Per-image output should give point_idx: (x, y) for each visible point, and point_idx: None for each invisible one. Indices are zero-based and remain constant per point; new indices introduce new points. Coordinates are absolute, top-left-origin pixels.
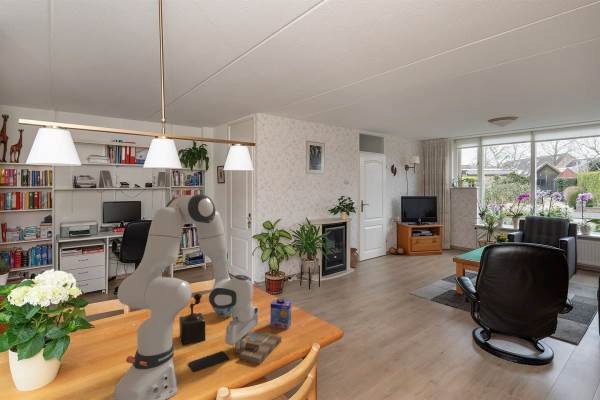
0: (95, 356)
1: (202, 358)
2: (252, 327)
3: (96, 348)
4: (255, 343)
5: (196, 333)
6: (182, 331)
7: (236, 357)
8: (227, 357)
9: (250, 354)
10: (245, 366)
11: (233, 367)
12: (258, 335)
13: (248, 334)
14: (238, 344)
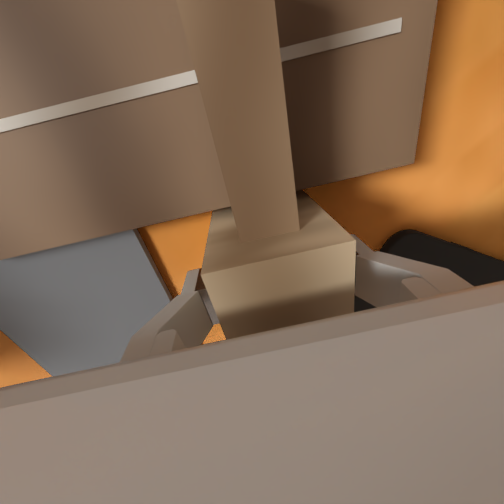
0: None
1: None
2: (21, 417)
3: None
4: (246, 58)
5: None
6: None
7: (356, 208)
8: (398, 250)
9: (397, 20)
10: (466, 9)
11: (496, 116)
12: (9, 300)
13: (167, 324)
14: (388, 262)
